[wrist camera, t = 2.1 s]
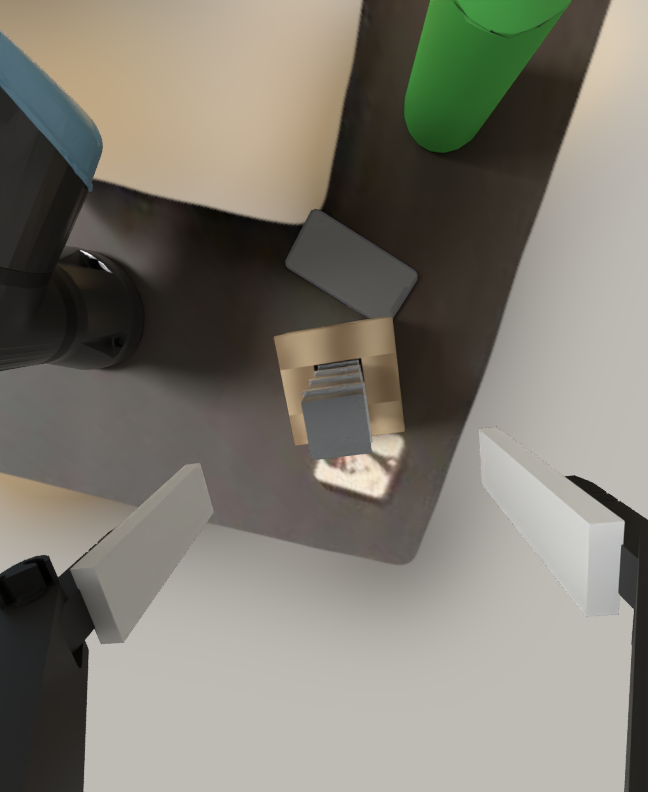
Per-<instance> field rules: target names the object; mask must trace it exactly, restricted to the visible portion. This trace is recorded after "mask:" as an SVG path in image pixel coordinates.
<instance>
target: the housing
mask: <svg viewBox="0 0 648 792" xmlns="http://www.w3.org/2000/svg"><path fill="white" fill-rule="evenodd" d="M274 341H275V346H276V351H277V356H278V361H279V366H280V371H281V376H282V381H283V386H284V391H285V396H286V401H287V406H288V411H289V416H290V421H291V427H292V432H293V437H294V442H295V445H302V444H309V443H308V438H307V433H306V427H305V422H304V417H303V411H302V406H301V402H302V400H303V395H302V391H303V390H308V388H309V387H310V385H309V380H310V379H314V371H318V365H321V364H325V363H331V362H338V361H344V360H351V359H357V358H360V364H361V372H362V377H363V381H364V383H365V390H366V397H367V404H368V412H369V419H370V426H371V434H372V436H373V435H381V434H389V433H397V432H405V428H404V419H403V410H402V401H401V392H400V382H399V373H398V364H397V355H396V346H395V337H394V328H393V319H392V317H379V318H373V319H366V320H360V321H354V322H348V323H342V324H336V325H330V326H324V327H318V328H312V329H306V330H300V331H294V332H289V333H285V334H282V335H278V336H274Z"/></svg>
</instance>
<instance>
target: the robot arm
mask: <svg viewBox="0 0 648 792" xmlns="http://www.w3.org/2000/svg"><path fill="white" fill-rule="evenodd" d="M102 149H103V145H102V138H101V135H100V133H99V130H98V128H97V127H96V125H95V123H94V122H93V120H92V119H91V118H90V117H89V115H88V114H87V113H86V112H85V111H84V110H83V109H82V108H81V107H80V106H79V105H78V104H77V103H76V102H75V101H74V100H73V98H71V96H70V95H68V94H67V93H66V92H65V91H64V90H63V89H62V88H61V87H60V86H59V85H58V84H57V83H56V82H55V81H54V80H53V79H52V78H51V77H50V76H49V75H48V74H47V73H46V72H45V71H44V70H42V68H40V66H38V65H37V64H36V63H35V62H34V61H33V60H32V59H31V58H30V57H29V56H28V55H27V54H26V53H24V51H22V50H21V49H20V48H19V47H18V46H17V45H16V44H15V43H14V42H13V41H12V40H10V39H9V38H8V37H7V36H6V35H5V34H4V33H3V32H2V31H1V30H0V371H3V370H9V369H14V368H20V367H26V366H31V365H37V364H44V363H47V364H53V365H58V366H64V367H70V368H76V369H83V370H91V369H99V368H104V367H109V366H113V365H116V364H118V363H120V362H122V361H123V360H125V359H126V358H128V357H129V356H130V355H131V354H132V353H133V351H134V350H135V349H136V347H137V345H138V343H139V341H140V339H141V336H142V332H143V325H144V314H143V307H142V303H141V299H140V296H139V294H138V292H137V289H136V287H135V286H134V284H133V282H132V281H131V279H130V278H129V276H128V275H127V274H126V273H125V272H124V271H123V270H122V269H121V268H120V267H119V266H118V265H117V264H116V263H115V262H113V261H112V260H110V259H109V258H107V257H105V256H103V255H101V254H99V253H96V252H93V251H89V250H85V249H81V248H77V247H69V246H65V244H66V242H67V240H68V238H69V235H70V233H71V231H72V228H73V226H74V224H75V222H76V219H77V217H78V215H79V212H80V210H81V208H82V206H83V203H84V201H85V199H86V196H87V194H88V192H91V191H92V189H93V185H92V183H91V182H92V179H93V177H94V174H95V171H96V168H97V165H98V162H99V160H100V157H101V154H102ZM479 445H480V465H481V482H482V483H481V484H482V486H483V487H484V488H485V490H486V491H487V492H488V493H489V495H490V496H491V497H492V498H493V500H494V501H495V502H496V503H497V505H498V506H499V507H500V508H501V510H502V511H503V512H504V513H505V515H506V516H507V517H508V519H509V520H510V521H511V522H512V524H513V525H514V526H515V527H516V529H517V530H518V531H519V532H520V534H521V535H522V536H523V537H524V539H525V540H526V541H527V542H528V544H529V545H530V546H531V547H532V549H533V550H534V551H535V553H536V554H537V555H538V556H539V558H540V559H541V560H542V561H543V563H544V564H545V565H546V566H547V567H548V569H549V570H550V571H551V573H552V574H553V575H554V576H555V578H556V579H557V580H558V582H559V583H560V584H561V585H562V586H563V588H564V589H565V590H566V592H567V593H568V594H569V595H570V597H571V598H572V599H573V600H574V602H575V603H576V604H577V605H578V607H579V608H580V609H581V610H582V612H583V613H584V614H585V615H586V617H589V616H606V615H619V601H620V596H621V597H622V598H623V599H624V600H625V601H626V602H627V603H628V604H629V605H630V606H631V607H632V608H633V609H634V619H633V631H632V656H631V657H632V658H631V674H630V693H629V712H628V731H627V750H626V769H625V788H624V792H648V520H647V519H646V518H644V517H643V516H641V515H640V514H638V513H637V512H635V511H634V510H632V509H631V508H630V507H628V506H626V505H625V504H624V503H622V502H621V501H618V500H617V499H616V498H615V497H613V496H612V495H610V494H607V493H606V491H604V490H603V489H601V488H600V487H598V486H597V485H596V484H594V483H592V482H590V481H588V480H585V479H583V478H580V477H577V476H575V475H574V476H563V475H561V474H560V473H559V472H557V471H556V470H555V469H553V468H552V467H551V466H549V465H548V464H547V463H545V462H544V461H543V460H541V459H540V458H539V457H537V456H536V455H534V454H533V453H532V452H530V451H529V450H527V449H526V448H525V447H524V446H522V445H521V444H520V443H518V442H517V441H515V440H514V439H513V438H511V437H510V436H509V435H507V434H506V433H505V432H503V431H502V430H501V429H499V428H498V427H489V428H481V429H479ZM213 513H214V512H213V508H212V504H211V501H210V497H209V494H208V490H207V486H206V483H205V479H204V475H203V472H202V468H201V465H200V463H196V464H188V465H185V466H184V467H182V468H181V469H180V470H179V471H178V472H177V473H176V474H175V475H174V476H173V477H171V478H170V479H169V480H168V481H167V482H166V483H165V484H164V485H163V486H161V487H160V488H159V489H158V490H157V491H156V492H155V493H154V494H153V495H152V496H150V497H149V498H148V499H147V500H146V501H145V502H144V503H143V504H142V505H140V506H139V507H138V508H137V509H136V510H135V511H134V512H133V513H132V514H131V515H129V516H128V517H127V518H126V519H125V520H124V521H123V522H122V523H121V524H119V525H118V526H117V527H116V528H115V529H113V530H111V531H110V532H108V533H107V534H106V535H105V536H104V537H103V538H102V539H101V540H99V541H98V544H95V545H94V546H93V547H92V548H90V549H89V552H86V553H85V554H84V555H83V556H82V557H80V558H79V559H78V560H77V561H76V562H75V563H74V564H73V565H72V566H70V568H68V569H67V570H66V571H65V572H64V573H63V574H61V575H60V576H59V577H58V576H57V574H56V572H55V570H54V567H53V565H52V562H51V561H50V558H49V556H46V555H41V556H35V557H32V558H29V559H27V560H24V561H22V562H20V563H18V564H16V565H14V566H12V567H11V568H9V569H7V570H6V571H4V572H2V573H1V574H0V792H83V787H84V761H85V734H86V708H87V681H88V655H89V650H88V647H87V644H86V642H85V639H86V638H87V637H88V636H89V634H90V633H91V632H92V631H93V629H95V631H96V634H97V636H98V638H99V641H100V643H101V644H110V643H124V641H125V640H126V638H127V637H128V635H129V634H130V632H131V631H132V630H133V628H134V627H135V625H136V624H137V622H138V621H139V619H140V618H141V617H142V615H143V614H144V612H145V611H146V609H147V608H148V607H149V605H150V604H151V602H152V601H153V599H154V598H155V596H156V595H157V594H158V592H159V591H160V589H161V588H162V586H163V585H164V583H165V582H166V581H167V579H168V578H169V576H170V575H171V573H172V572H173V570H174V569H175V568H176V566H177V565H178V563H179V562H180V560H181V559H182V557H183V556H184V555H185V553H186V552H187V550H188V549H189V547H190V546H191V544H192V543H193V542H194V540H195V539H196V537H197V536H198V534H199V533H200V531H201V530H202V528H203V527H204V525H205V524H206V523H207V521H208V520H209V518H210V517H211V515H212V514H213Z"/></svg>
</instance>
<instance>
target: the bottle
mask: <svg viewBox="0 0 648 792" xmlns="http://www.w3.org/2000/svg"><path fill="white" fill-rule="evenodd" d="M571 1H572V0H430V4H429V8H428V11H427V15H426V19H425V23H424V27H423V30H422V34H421V38H420V42H419V46H418V50H417V53H416V57H415V61H414V65H413V69H412V73H411V77H410V80H409V84H408V88H407V92H406V96H405V104H404V117H405V121H406V124H407V128H408V131H409V133H410V134H411V136H412V137H413V138H414V140H415V141H416V142H417V144H419V145H420V146H422V147H424V148H425V149H427V150H429V151H433V152H441V153H445V152H449V151H453V150H457V149H459V148H461V147H462V146H463V145H465V144H466V143H468V142H469V141H471V140H472V139H473V137H474V136H475V135H476V133H477V132H478V131H479V130H480V128H481V127H482V126H483V124H484V123H485V121H486V120H487V119H488V117H489V116H490V114H491V113H492V112H493V110H494V109H495V108H496V106H497V105H498V103H499V102H500V101H501V99H502V98H503V96H504V95H505V94H506V92H507V91H508V89H509V88H510V87H511V85H512V84H513V82H514V81H515V80H516V78H517V77H518V76H519V74H520V73H521V71H522V70H523V69H524V67H525V66H526V64H527V63H528V61H529V60H530V59H531V57H532V56H533V54H534V53H535V52H536V50H537V49H538V47H539V46H540V45H541V43H542V42H543V40H544V39H545V38H546V36H547V35H548V33H549V32H550V31H551V29H552V28H553V26H554V25H555V24H556V22H557V21H558V19H559V18H560V17H561V15H562V14H563V12H564V11H565V10H566V8H567V7H568V5H569V4H570V3H571Z"/></svg>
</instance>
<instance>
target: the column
mask: <svg viewBox="0 0 648 792" xmlns="http://www.w3.org/2000/svg"><path fill="white" fill-rule="evenodd" d="M309 385H310V387H309V388H308V390H303V391H302V395H303V400H302V402H301V406H302V411H303V417H304V422H305V427H306V433H307V438H308V443H309V449H310V454H311V459H312V460H318V459H326V458H334V457H342V456H351V455H359V454H367V453H372V450H371V442H373V441H372V434H371V426H370V419H369V412H368V404H367V397H366V390H365V383H364V381H363V377H362V372H361V369H360V364H359V360H358V358H357V359H351V360H344V361H338V362H331V363H325V364H321V365H318V371H314V379H310V380H309Z"/></svg>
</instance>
